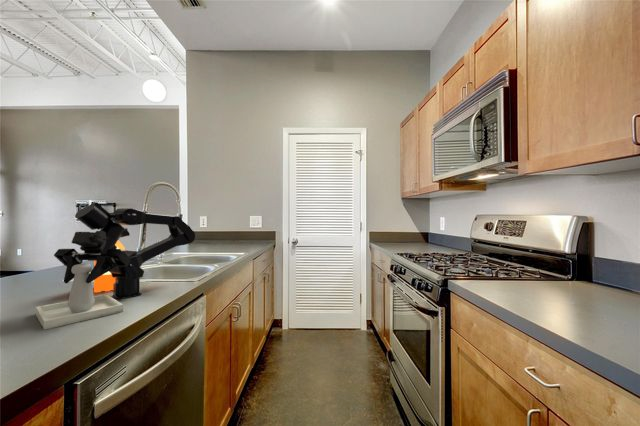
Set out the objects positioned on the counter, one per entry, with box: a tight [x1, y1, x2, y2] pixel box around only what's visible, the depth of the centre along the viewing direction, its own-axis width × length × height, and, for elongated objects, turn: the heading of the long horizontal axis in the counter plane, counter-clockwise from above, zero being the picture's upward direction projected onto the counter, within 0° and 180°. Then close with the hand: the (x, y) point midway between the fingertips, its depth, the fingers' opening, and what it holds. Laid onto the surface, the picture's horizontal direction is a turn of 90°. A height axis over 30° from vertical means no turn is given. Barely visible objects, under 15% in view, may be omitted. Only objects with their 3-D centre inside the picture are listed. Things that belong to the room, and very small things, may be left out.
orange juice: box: [93, 240, 126, 293], centre depth 103 cm, size 8×9×20 cm
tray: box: [35, 293, 124, 330], centre depth 77 cm, size 16×16×2 cm
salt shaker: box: [67, 263, 95, 313], centre depth 77 cm, size 6×6×13 cm
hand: (76, 282), depth 76 cm, fingers open, 6 cm apart
